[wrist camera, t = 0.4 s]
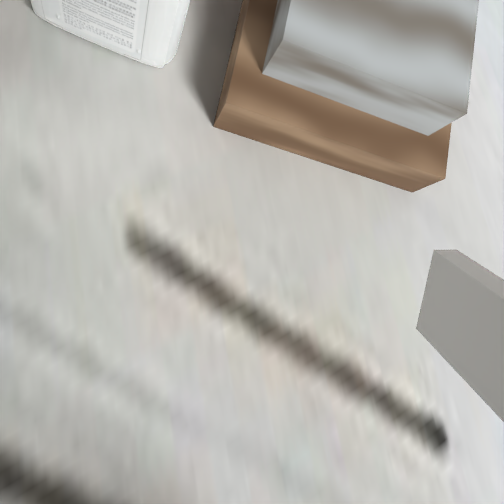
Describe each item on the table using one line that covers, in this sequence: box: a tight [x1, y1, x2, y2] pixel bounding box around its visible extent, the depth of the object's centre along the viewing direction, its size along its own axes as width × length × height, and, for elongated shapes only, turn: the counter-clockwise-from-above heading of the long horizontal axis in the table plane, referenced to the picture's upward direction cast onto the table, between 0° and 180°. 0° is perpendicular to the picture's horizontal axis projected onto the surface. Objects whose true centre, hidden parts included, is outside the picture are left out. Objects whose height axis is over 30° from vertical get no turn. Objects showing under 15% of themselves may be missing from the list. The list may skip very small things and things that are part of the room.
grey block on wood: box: [213, 0, 479, 192], centre depth 34 cm, size 16×18×8 cm
